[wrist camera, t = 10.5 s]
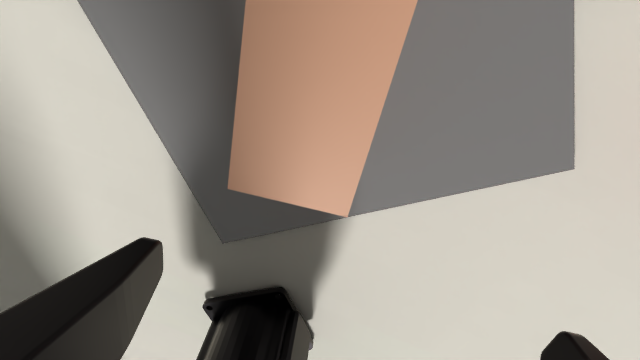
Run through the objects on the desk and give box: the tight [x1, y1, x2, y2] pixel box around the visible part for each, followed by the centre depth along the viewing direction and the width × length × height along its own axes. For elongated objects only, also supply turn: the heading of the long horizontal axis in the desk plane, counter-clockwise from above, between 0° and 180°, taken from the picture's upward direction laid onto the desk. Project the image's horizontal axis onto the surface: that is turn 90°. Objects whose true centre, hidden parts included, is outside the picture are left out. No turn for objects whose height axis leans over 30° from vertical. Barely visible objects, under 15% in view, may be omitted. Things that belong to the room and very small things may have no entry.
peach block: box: [228, 0, 418, 217], centre depth 14 cm, size 5×5×13 cm
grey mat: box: [77, 0, 574, 243], centre depth 17 cm, size 20×17×1 cm
